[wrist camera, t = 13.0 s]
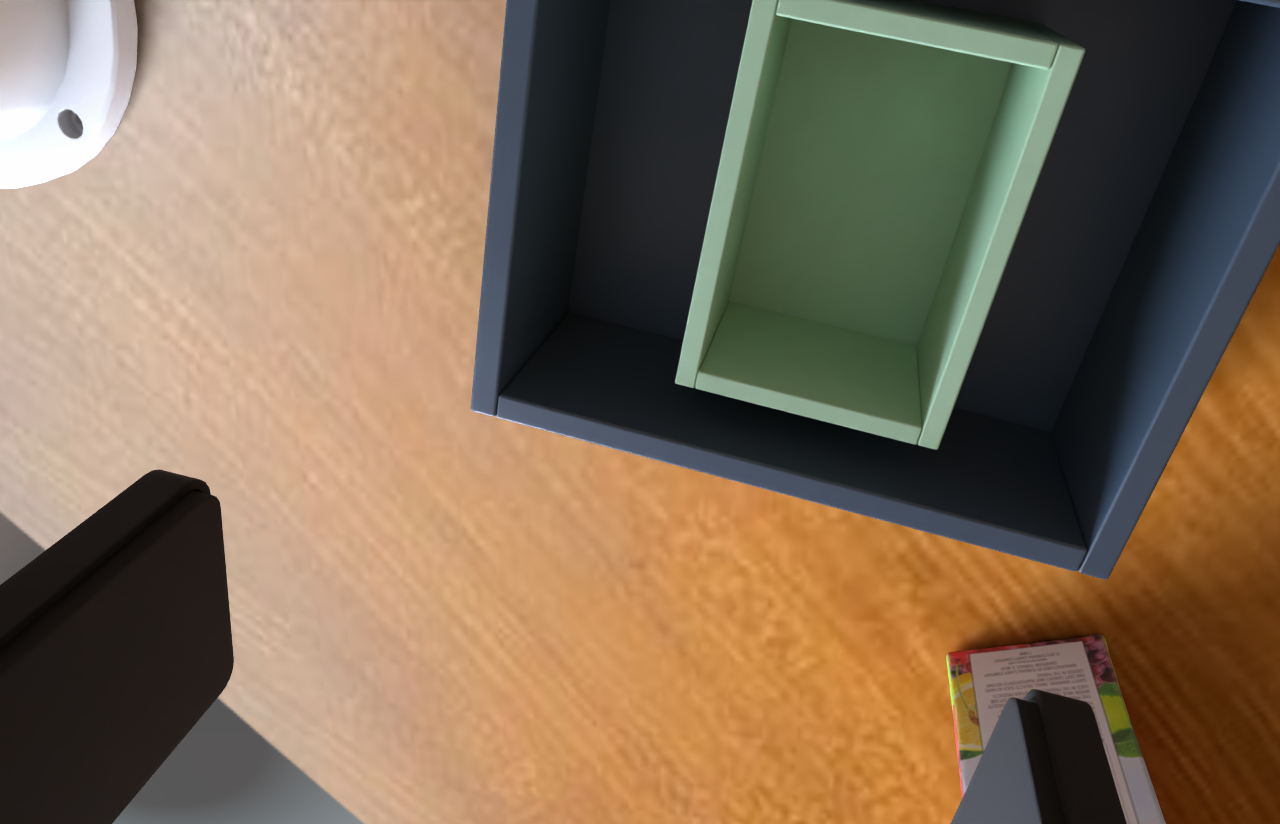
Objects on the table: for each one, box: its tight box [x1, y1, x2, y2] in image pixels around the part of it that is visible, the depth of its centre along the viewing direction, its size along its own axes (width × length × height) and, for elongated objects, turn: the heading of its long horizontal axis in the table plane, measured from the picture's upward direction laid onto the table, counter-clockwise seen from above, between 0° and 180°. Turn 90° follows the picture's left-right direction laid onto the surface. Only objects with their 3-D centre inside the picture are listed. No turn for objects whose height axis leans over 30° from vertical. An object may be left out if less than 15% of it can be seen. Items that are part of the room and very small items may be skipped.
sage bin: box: [675, 0, 1085, 450], centre depth 23 cm, size 6×9×6 cm
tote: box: [471, 0, 1280, 579], centre depth 23 cm, size 16×13×7 cm
